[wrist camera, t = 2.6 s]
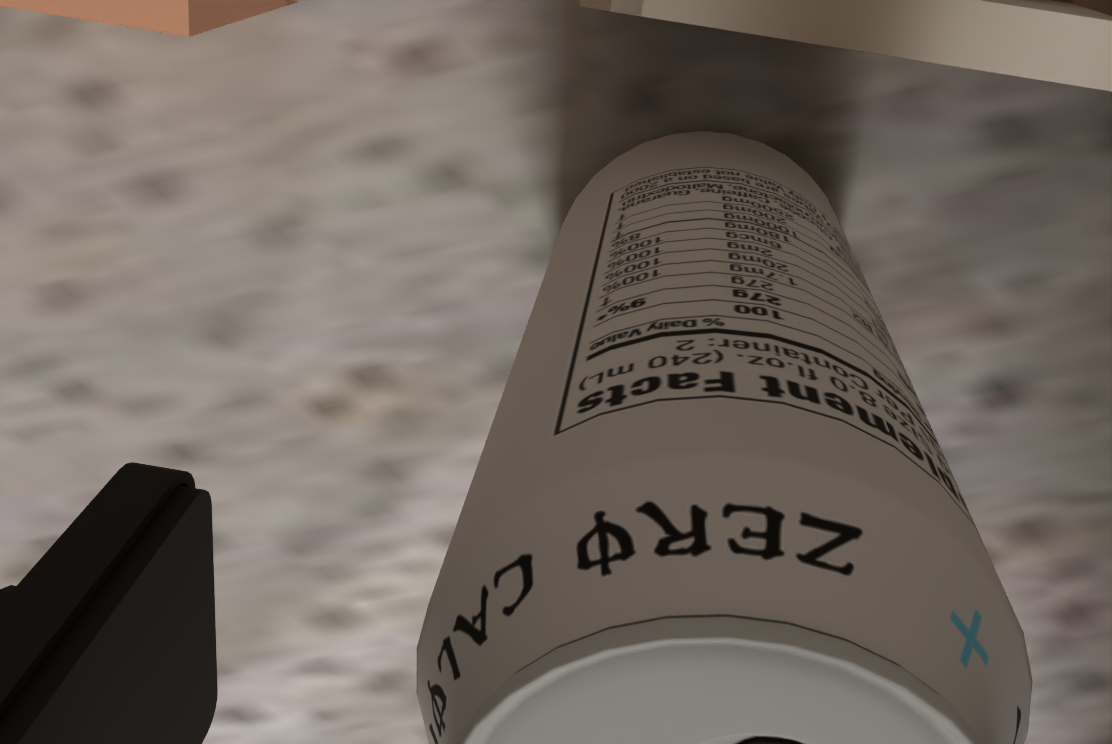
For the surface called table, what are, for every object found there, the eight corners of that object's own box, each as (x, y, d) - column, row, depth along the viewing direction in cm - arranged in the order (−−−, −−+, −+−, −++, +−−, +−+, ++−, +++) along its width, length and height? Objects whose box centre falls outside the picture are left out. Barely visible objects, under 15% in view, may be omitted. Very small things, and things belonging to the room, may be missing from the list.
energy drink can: (508, 293, 23) (258, 886, 9) (660, 62, 20) (613, 422, 7) (727, 429, 24) (784, 1147, 10) (899, 223, 21) (1274, 824, 8)
